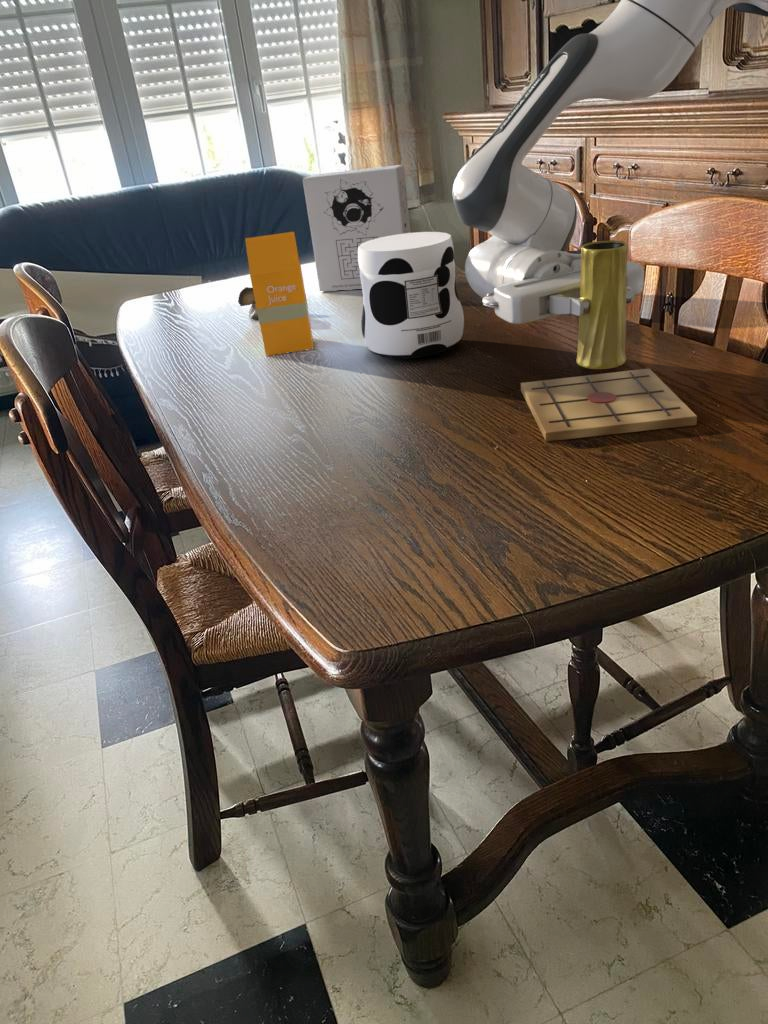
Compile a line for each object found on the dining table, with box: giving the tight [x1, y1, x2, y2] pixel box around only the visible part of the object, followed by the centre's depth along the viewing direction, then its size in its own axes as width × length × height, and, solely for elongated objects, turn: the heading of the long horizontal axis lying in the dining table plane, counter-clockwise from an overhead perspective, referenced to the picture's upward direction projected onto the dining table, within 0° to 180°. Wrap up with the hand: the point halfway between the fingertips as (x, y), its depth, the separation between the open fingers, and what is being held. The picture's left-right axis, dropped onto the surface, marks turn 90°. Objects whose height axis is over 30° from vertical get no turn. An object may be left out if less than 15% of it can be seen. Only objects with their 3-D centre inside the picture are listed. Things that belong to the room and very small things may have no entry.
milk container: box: [358, 231, 465, 360], centre depth 124 cm, size 17×17×18 cm
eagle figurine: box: [237, 286, 259, 322], centre depth 163 cm, size 8×7×9 cm
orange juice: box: [244, 231, 314, 357], centre depth 134 cm, size 8×9×20 cm
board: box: [520, 367, 698, 443], centre depth 97 cm, size 18×18×1 cm
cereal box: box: [302, 164, 411, 292], centre depth 171 cm, size 22×8×25 cm, turn 77°
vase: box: [575, 240, 629, 370], centre depth 91 cm, size 6×6×14 cm
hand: (608, 302), depth 90 cm, fingers closed on vase, 5 cm apart
